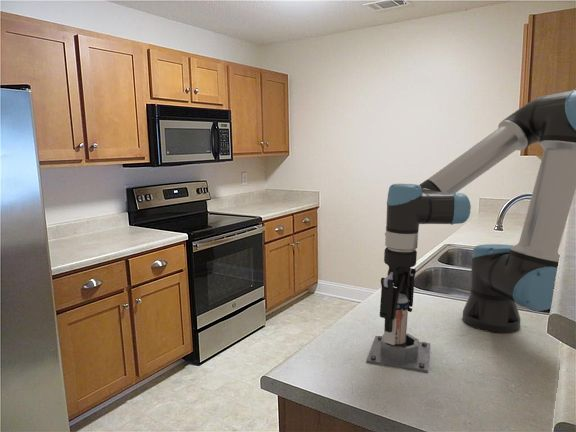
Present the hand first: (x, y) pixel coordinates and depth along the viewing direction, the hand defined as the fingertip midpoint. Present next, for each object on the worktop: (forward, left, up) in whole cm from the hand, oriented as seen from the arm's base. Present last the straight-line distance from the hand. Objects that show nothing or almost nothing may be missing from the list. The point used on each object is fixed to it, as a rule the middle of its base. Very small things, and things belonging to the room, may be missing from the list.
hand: (394, 339), depth 102 cm
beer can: (0, 0, -1) cm, 1 cm away
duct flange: (-1, 0, -4) cm, 4 cm away
